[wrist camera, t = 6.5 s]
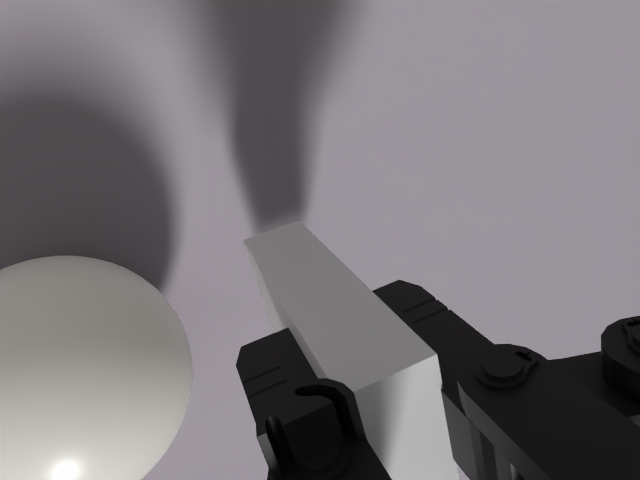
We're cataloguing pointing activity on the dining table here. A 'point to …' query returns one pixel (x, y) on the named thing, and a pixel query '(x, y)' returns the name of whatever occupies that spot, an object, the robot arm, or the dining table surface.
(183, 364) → the cue ball
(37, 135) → the dining table surface
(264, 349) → the robot arm
